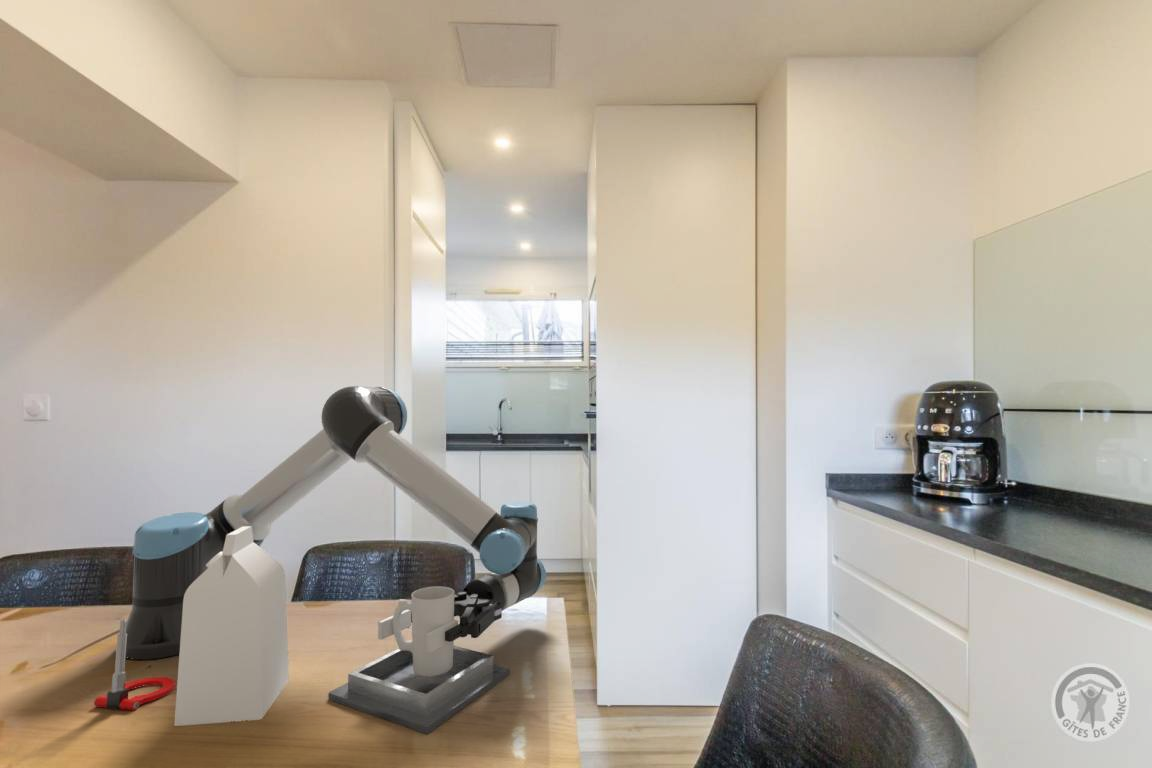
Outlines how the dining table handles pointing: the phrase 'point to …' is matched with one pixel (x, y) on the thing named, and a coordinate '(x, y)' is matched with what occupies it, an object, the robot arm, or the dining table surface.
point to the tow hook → (120, 690)
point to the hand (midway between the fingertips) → (403, 636)
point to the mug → (427, 628)
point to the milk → (233, 636)
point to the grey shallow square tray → (418, 688)
